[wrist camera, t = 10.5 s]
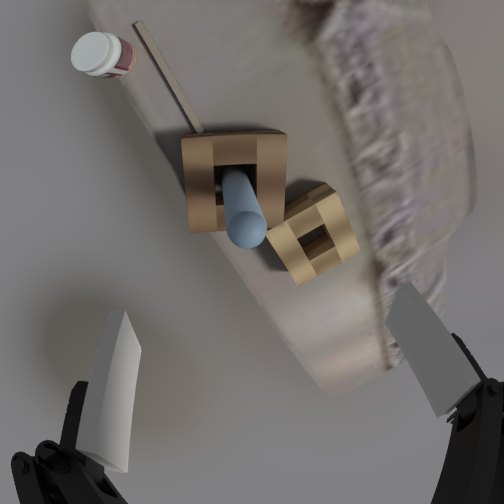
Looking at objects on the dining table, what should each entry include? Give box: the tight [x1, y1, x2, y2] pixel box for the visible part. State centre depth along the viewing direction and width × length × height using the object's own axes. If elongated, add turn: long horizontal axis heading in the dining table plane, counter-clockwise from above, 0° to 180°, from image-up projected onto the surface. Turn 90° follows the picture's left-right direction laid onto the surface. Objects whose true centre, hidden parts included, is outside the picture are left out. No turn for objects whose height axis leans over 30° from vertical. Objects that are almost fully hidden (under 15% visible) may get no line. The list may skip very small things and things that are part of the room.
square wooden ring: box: [181, 131, 287, 233], centre depth 31 cm, size 11×11×4 cm
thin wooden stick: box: [135, 20, 204, 134], centre depth 25 cm, size 16×1×1 cm, turn 25°
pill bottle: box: [71, 32, 136, 78], centre depth 19 cm, size 5×5×8 cm
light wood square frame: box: [266, 183, 360, 286], centre depth 36 cm, size 10×10×4 cm
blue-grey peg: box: [221, 165, 267, 249], centre depth 26 cm, size 3×3×16 cm
